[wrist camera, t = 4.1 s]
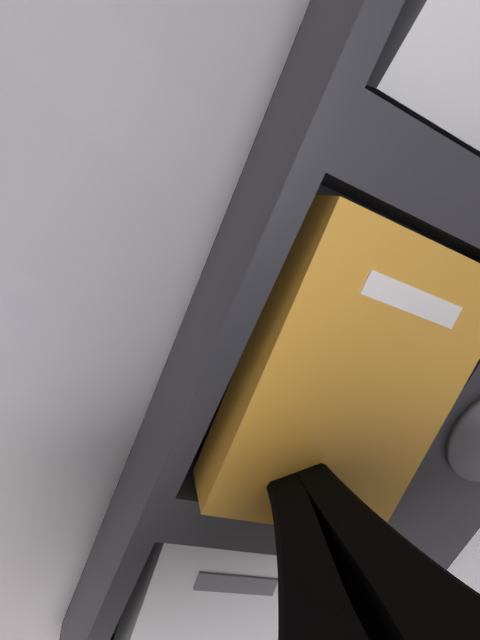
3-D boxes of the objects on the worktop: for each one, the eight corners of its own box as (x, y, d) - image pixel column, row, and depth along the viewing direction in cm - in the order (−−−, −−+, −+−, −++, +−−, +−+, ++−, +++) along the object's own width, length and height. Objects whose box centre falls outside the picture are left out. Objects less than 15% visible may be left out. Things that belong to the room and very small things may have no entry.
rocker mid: (472, 270, 10) (524, 284, 9) (351, 499, 11) (379, 541, 10) (309, 194, 8) (341, 196, 7) (193, 471, 10) (201, 517, 8)
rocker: (302, 521, 13) (324, 554, 12) (232, 709, 14) (245, 761, 12) (161, 501, 12) (167, 535, 10) (87, 714, 12) (83, 775, 11)
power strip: (760, -79, 10) (1057, -188, 7) (254, 684, 20) (276, 795, 16) (485, -438, 7) (801, -987, 4) (36, 687, 16) (7, 826, 13)
